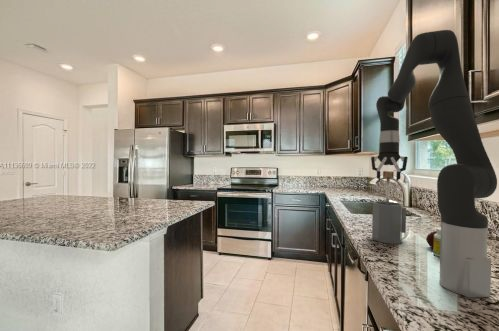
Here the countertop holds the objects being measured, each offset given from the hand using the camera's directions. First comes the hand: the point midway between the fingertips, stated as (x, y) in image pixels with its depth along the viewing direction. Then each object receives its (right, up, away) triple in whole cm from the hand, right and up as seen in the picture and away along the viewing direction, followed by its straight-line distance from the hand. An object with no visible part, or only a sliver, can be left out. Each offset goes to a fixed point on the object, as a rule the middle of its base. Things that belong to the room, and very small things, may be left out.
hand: (388, 180), depth 104 cm
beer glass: (+9, -26, +13) cm, 31 cm away
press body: (+1, -26, 0) cm, 26 cm away
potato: (+14, -27, -9) cm, 32 cm away
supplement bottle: (+10, -27, -17) cm, 33 cm away
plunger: (0, -14, 0) cm, 14 cm away
